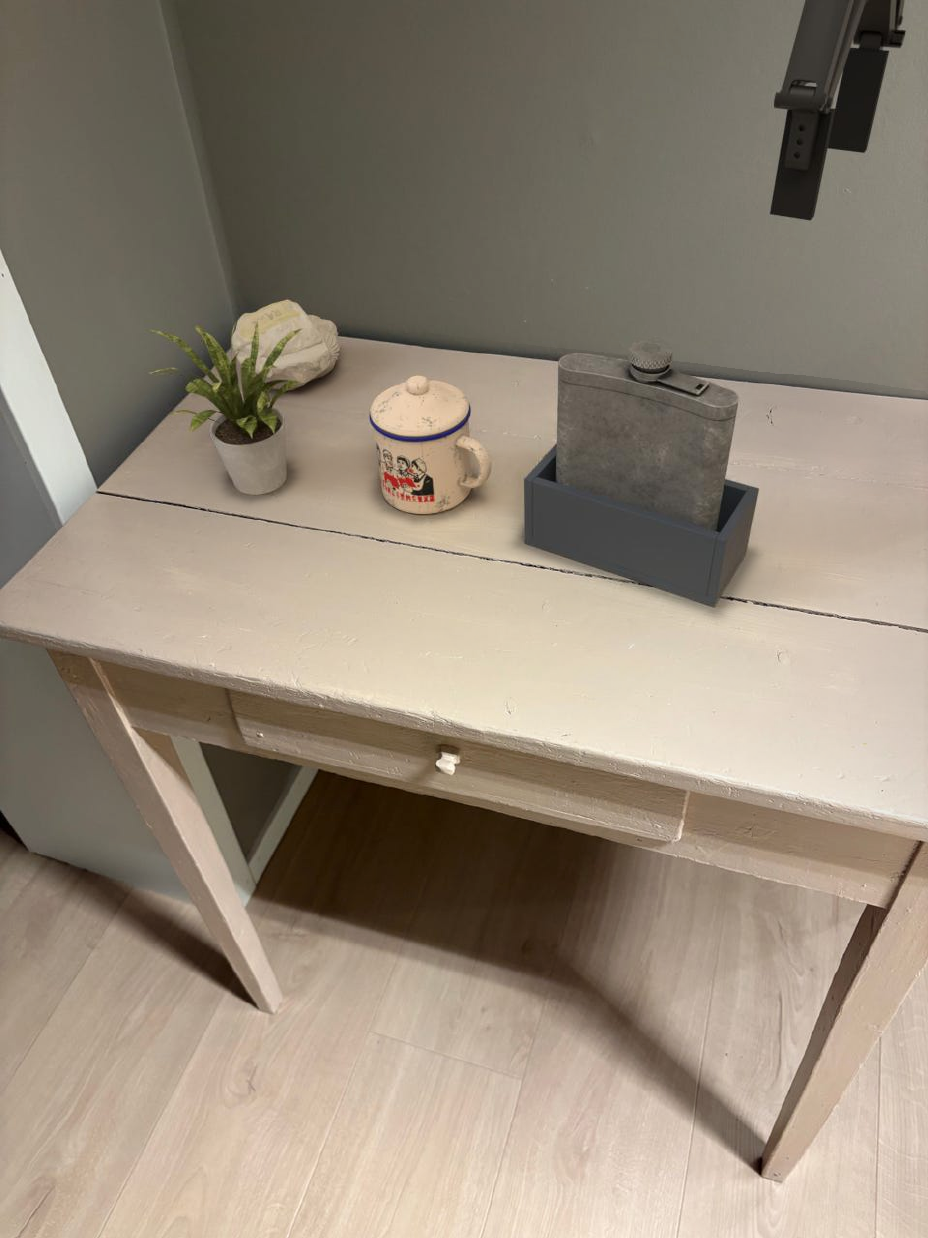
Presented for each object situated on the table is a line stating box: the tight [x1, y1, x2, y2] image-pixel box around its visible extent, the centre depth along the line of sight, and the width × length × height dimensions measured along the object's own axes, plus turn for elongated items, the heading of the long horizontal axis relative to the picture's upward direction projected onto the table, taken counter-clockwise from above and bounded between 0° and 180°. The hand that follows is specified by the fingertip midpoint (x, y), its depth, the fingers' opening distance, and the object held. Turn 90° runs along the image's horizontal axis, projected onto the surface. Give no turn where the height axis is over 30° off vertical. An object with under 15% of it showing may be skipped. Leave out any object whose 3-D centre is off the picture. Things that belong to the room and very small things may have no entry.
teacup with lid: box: [369, 375, 492, 515], centre depth 87 cm, size 12×9×12 cm
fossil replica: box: [232, 299, 341, 391], centre depth 105 cm, size 12×8×10 cm
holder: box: [523, 442, 760, 608], centre depth 81 cm, size 18×8×7 cm, turn 59°
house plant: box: [148, 320, 304, 496], centre depth 88 cm, size 14×14×16 cm
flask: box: [556, 338, 740, 531], centre depth 77 cm, size 4×14×18 cm, turn 59°
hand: (820, 180), depth 67 cm, fingers open, 13 cm apart
